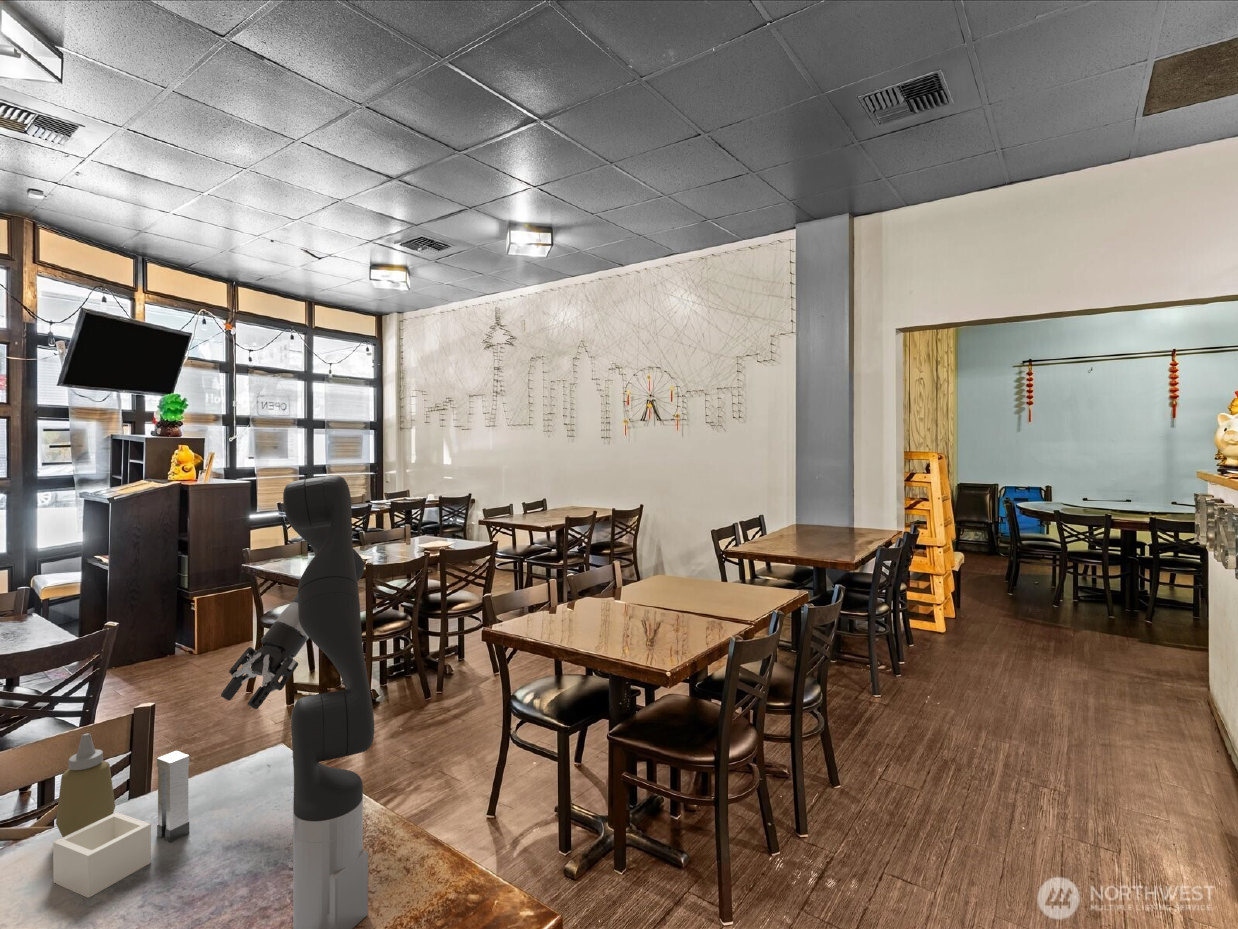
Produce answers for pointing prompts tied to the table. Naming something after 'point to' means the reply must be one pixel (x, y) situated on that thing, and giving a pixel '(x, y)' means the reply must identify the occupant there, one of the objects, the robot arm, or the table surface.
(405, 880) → the table surface
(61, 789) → the squeeze bottle
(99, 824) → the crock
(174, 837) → the grey arch block
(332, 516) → the robot arm
